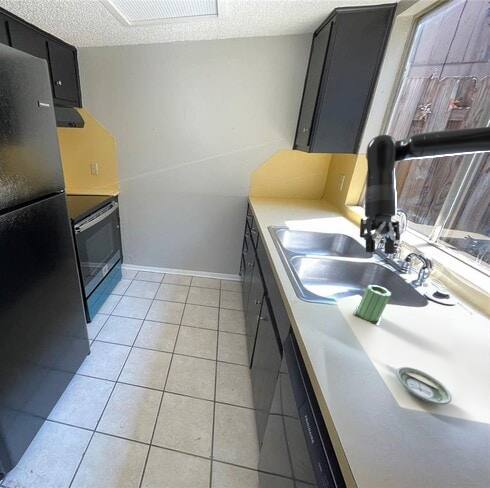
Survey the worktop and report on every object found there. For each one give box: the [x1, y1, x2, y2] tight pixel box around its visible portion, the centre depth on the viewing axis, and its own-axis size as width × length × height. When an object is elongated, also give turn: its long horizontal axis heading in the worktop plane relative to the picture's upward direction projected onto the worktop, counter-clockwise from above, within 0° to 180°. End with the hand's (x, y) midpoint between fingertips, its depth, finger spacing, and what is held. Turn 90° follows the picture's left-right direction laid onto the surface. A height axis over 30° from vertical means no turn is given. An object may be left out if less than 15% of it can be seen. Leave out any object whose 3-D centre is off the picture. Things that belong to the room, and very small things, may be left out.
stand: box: [352, 290, 383, 327], centre depth 83 cm, size 7×7×11 cm
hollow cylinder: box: [356, 284, 392, 322], centre depth 82 cm, size 6×6×10 cm
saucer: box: [395, 366, 452, 405], centre depth 61 cm, size 10×10×2 cm
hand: (380, 253), depth 79 cm, fingers open, 8 cm apart
